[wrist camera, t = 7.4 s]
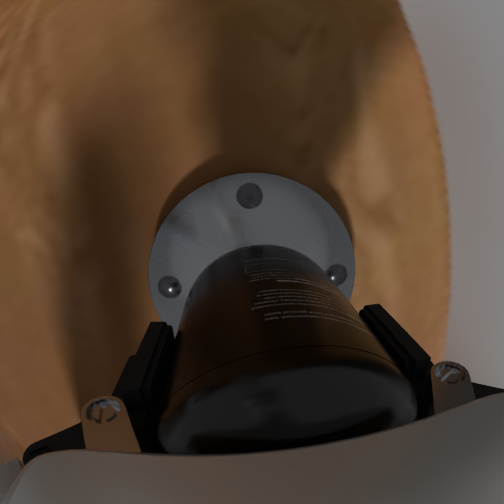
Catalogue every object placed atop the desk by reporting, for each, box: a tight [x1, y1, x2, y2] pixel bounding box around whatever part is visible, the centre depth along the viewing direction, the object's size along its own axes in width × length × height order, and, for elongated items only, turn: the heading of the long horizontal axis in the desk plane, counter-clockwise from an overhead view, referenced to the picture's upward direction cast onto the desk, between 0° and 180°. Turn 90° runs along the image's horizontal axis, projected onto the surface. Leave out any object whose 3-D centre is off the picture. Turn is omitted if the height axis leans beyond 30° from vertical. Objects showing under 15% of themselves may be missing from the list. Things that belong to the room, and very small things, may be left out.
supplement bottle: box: [150, 244, 422, 454], centre depth 8 cm, size 7×7×12 cm
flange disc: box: [148, 172, 355, 337], centre depth 18 cm, size 12×12×1 cm
